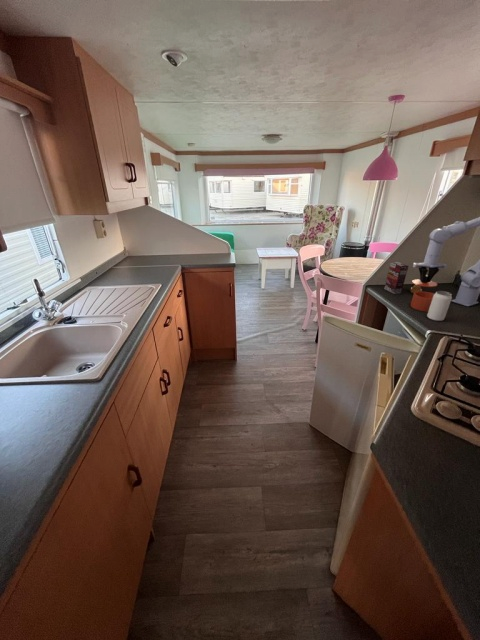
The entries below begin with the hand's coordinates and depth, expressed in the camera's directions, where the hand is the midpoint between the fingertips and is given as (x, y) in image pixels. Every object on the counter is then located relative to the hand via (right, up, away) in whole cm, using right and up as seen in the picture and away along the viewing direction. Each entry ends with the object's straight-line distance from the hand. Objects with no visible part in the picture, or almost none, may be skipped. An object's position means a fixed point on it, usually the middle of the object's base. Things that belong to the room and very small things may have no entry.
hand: (424, 281), depth 135 cm
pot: (-5, -13, -5) cm, 15 cm away
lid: (0, -1, 0) cm, 1 cm away
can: (-7, -19, -16) cm, 26 cm away
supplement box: (-7, -3, +16) cm, 18 cm away
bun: (+5, -4, +14) cm, 15 cm away
